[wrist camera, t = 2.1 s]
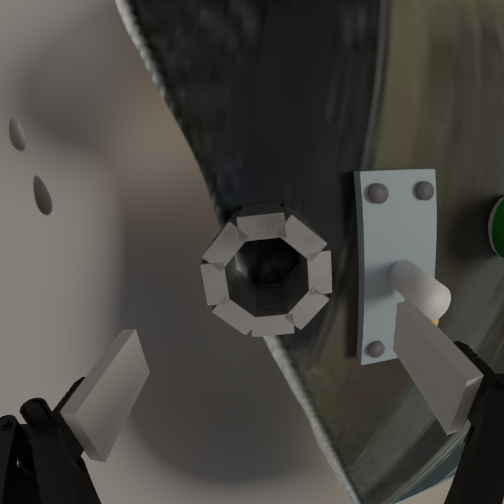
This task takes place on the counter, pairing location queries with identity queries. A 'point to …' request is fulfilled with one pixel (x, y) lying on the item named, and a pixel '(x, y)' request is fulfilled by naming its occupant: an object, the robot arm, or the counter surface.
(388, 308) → the block
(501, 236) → the soda can
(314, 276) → the grey hollow octagonal piece
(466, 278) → the counter surface
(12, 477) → the robot arm
